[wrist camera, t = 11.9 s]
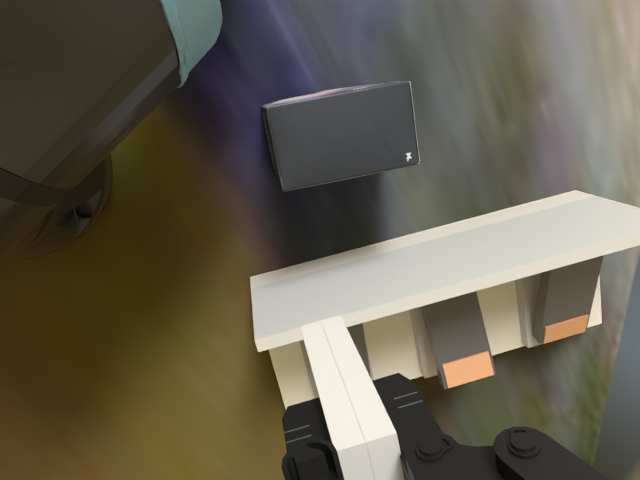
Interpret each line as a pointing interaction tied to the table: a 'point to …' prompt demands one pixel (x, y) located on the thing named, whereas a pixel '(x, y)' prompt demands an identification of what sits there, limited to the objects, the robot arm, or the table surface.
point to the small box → (341, 134)
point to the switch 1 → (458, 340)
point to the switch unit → (435, 284)
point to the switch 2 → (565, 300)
